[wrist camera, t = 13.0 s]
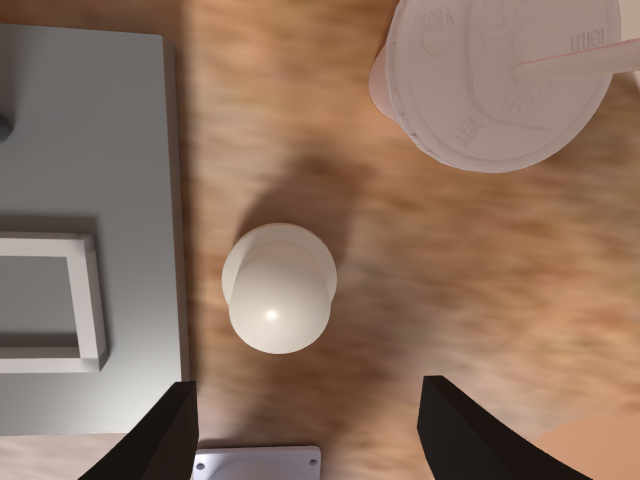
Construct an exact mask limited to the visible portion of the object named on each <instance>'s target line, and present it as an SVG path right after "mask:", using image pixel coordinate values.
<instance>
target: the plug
mask: <svg viewBox="0 0 640 480" xmlns="http://www.w3.org/2000/svg"><path fill="white" fill-rule="evenodd" d="M336 287H337V272H336V267H335V263H334V261H333V258H332V255H331V253H330V251H329V249H328V248H327V246H326V245H325V243H324V242H323V241H322V240H321V239H320V238H319V237H318V236H317V235H316V234H314V233H313V232H311V231H310V230H308V229H306V228H304V227H301V226H298V225H295V224H290V223H270V224H265V225H262V226H259V227H256V228H254V229H252V230H250V231H249V232H247V233H246V234H244V235H243V236H242V237H241V238H240V239H239V240H238V241H237V242H236V243H235V244H234V246H233V247H232V248H231V250H230V252H229V254H228V256H227V259H226V262H225V265H224V268H223V273H222V289H223V293H224V296H225V299H226V301H227V303H228V305H229V316H230V320H231V323H232V326H233V328H234V330H235V331H236V333H237V334H238V335H239V337H240V338H241V339H242V340H243V341H244V342H246V343H247V344H248V345H250V346H251V347H253V348H255V349H257V350H260V351H263V352H267V353H273V354H285V353H291V352H295V351H298V350H300V349H303V348H305V347H306V346H308V345H310V344H311V343H313V342H314V341H315V340H316V339H317V338H318V337H319V336H320V335H321V334H322V332H323V331H324V329H325V327H326V325H327V323H328V320H329V317H330V311H331V302H332V300H333V298H334V295H335V292H336Z"/></svg>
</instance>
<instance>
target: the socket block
mask: <svg viewBox="0 0 640 480" xmlns="http://www.w3.org/2000/svg"><path fill="white" fill-rule="evenodd" d="M0 114H1V115H2V116H3V117H4V118H5V119H6V121H7V123H8V125H9V130H10V132H9V136H8V138H7V140H6V141H5V142H3V143H1V144H0V436H20V435H59V434H97V433H129V432H130V431H131V430H132V429H133V428H134V427H135V425H136V424H137V423H138V422H139V421H140V420H141V419H142V418H143V417H144V416H145V415H146V414H147V413H148V412H149V410H150V409H151V408H152V407H153V406H154V405H155V404H156V403H157V401H158V400H159V399H160V398H161V397H162V396H163V395H164V393H165V392H166V391H167V390H168V389H169V388H170V386H171V385H172V384H173V383H174V382H181V381H190V360H189V339H188V319H187V298H186V278H185V257H184V236H183V216H182V195H181V175H180V154H179V133H178V113H177V92H176V72H175V51H174V43H173V42H172V41H170V40H169V39H167V38H166V37H164V36H163V35H155V34H141V33H128V32H114V31H101V30H87V29H74V28H60V27H47V26H33V25H20V24H6V23H0Z"/></svg>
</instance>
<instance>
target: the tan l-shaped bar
mask: <svg viewBox="0 0 640 480" xmlns="http://www.w3.org/2000/svg"><path fill="white" fill-rule="evenodd" d="M9 132H10V130H9V125H8V123H7V121H6V119H5V118H4V117H3V116H2V115H1V114H0V144H1V143H3V142H5V141H6V140H7V138H8V136H9Z"/></svg>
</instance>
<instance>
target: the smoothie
mask: <svg viewBox="0 0 640 480" xmlns="http://www.w3.org/2000/svg"><path fill="white" fill-rule="evenodd" d="M620 33H621V23H620V11H619V3H618V0H400V2H399V3H398V5H397V7H396V10H395V13H394V16H393V20H392V23H391V26H390V30H389V33H388V36H387V40H386V43H385V45H384V47H383V48H382V50H381V51H380V53H379V55H378V56H377V58H376V59H375V61H374V63H373V65H372V67H371V70H370V74H369V82H368V85H369V93H370V96H371V99H372V101H373V103H374V105H375V106H376V108H377V109H378V110H379V111H380V112H381V113H382V114H383V115H385V116H386V117H388V118H390V119H391V120H393V121H394V122H396V123H397V124H399V125H400V126H401V128H402V129H403V130H404V131H405V133H406V134H407V135H408V136H409V137H410V138H411V140H412V141H413V142H414V143H415V144H416V146H417V147H418V148H419V149H420V150H422V151H423V152H425V153H426V154H428V155H429V156H431V157H432V158H434V159H435V160H437V161H438V162H440V163H442V164H445V165H449V166H452V167H455V168H459V169H462V170H465V171H475V172H482V173H503V172H511V171H515V170H520V169H523V168H526V167H529V166H532V165H534V164H536V163H539V162H541V161H543V160H544V159H546V158H548V157H550V156H551V155H553V154H554V153H556V152H558V151H559V150H560V149H561V148H563V147H564V146H565V145H567V144H568V143H569V142H570V141H571V140H572V139H573V138H574V137H575V136H576V135H577V134H578V133H579V132H580V131H581V130H582V129H583V128H584V127H585V125H586V124H587V123H588V122H589V120H590V119H591V118H592V116H593V115H594V113H595V112H596V110H597V109H598V107H599V105H600V103H601V102H602V100H603V98H604V96H605V94H606V92H607V89H608V87H609V85H610V82H611V79H612V77H613V74H615V73H623V72H632V71H640V38H637V39H632V40H627V41H623V42H620Z"/></svg>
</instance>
